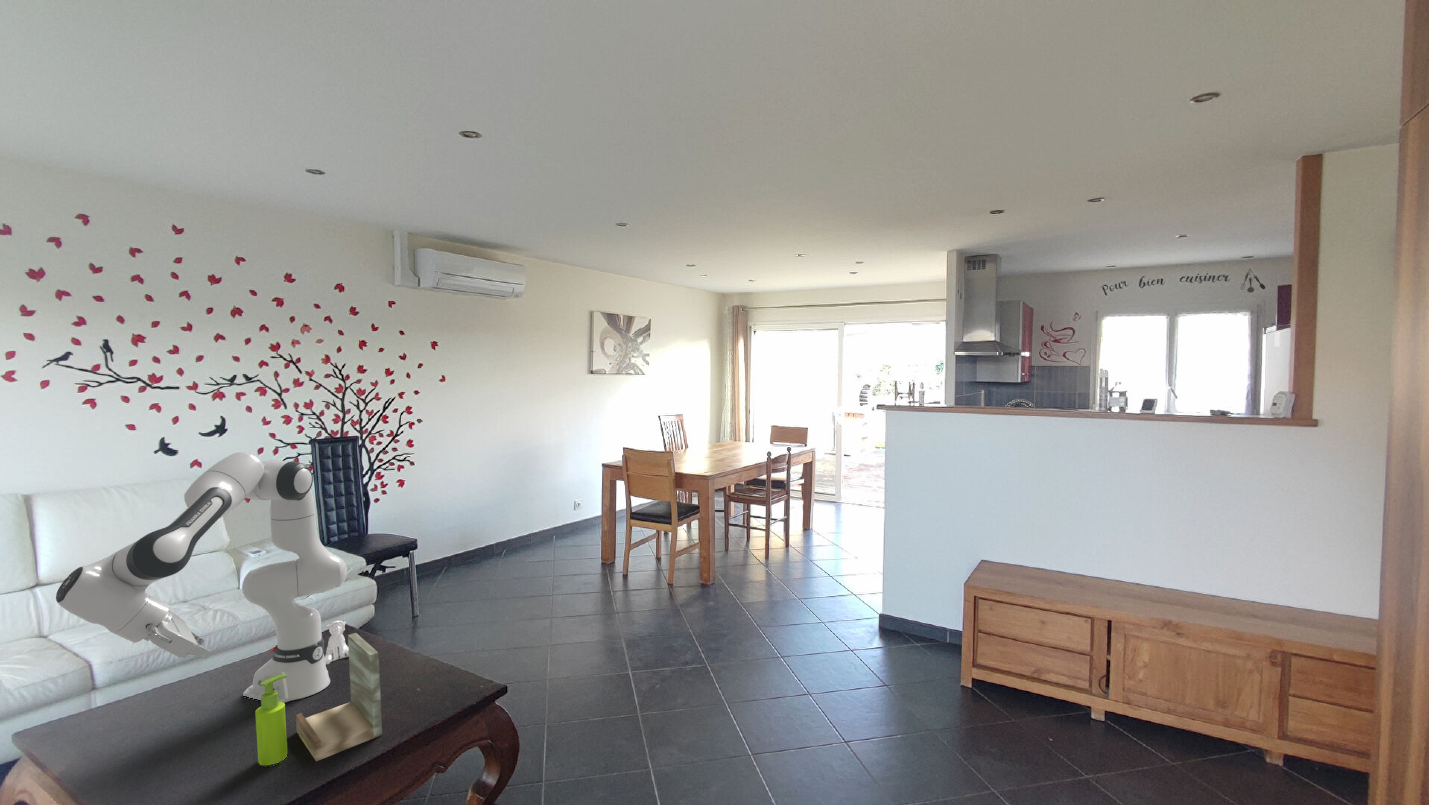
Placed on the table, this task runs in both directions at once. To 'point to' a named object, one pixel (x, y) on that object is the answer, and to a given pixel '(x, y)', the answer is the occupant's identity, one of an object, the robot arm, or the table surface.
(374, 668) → the wall board
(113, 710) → the table surface
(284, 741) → the soap dispenser
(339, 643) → the white creature statuette
